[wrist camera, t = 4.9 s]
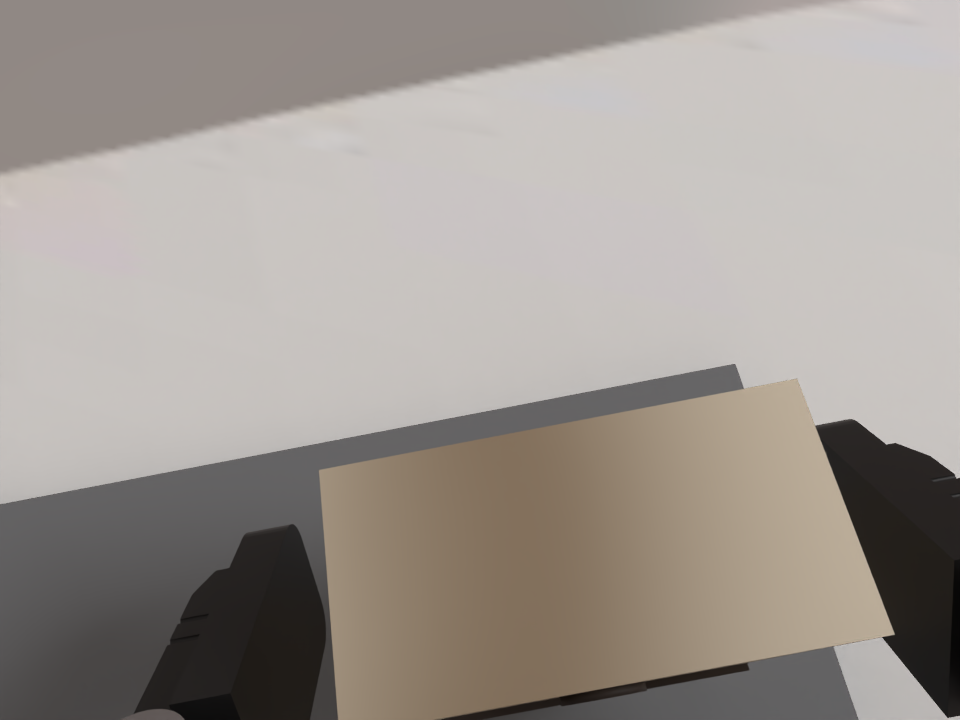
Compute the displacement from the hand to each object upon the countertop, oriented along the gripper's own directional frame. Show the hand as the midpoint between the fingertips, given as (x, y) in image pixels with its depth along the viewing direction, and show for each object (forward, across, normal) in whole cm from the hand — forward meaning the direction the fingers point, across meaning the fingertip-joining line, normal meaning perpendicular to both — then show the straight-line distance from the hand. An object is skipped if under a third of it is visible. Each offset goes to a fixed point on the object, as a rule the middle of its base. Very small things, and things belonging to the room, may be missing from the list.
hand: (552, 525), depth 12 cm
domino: (+2, 0, +4) cm, 5 cm away
